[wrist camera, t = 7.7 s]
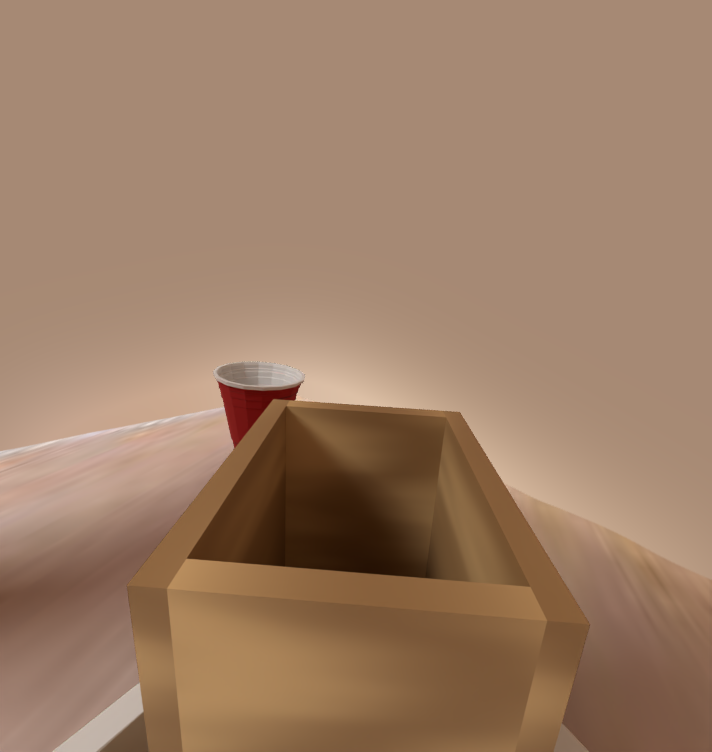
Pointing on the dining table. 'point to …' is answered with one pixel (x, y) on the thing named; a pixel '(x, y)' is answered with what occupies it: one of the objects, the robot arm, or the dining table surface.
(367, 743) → the wooden pencil holder
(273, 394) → the plastic cup
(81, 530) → the dining table surface
